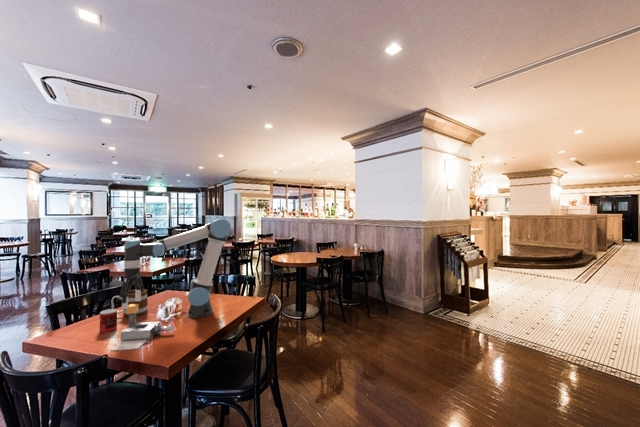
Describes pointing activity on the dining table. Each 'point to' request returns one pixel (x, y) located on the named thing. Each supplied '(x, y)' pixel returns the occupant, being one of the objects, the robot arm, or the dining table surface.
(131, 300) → the mug
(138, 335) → the block
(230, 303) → the dining table surface
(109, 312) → the canned food
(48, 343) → the dining table surface
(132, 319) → the key
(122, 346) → the rest mat
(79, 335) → the dining table surface
